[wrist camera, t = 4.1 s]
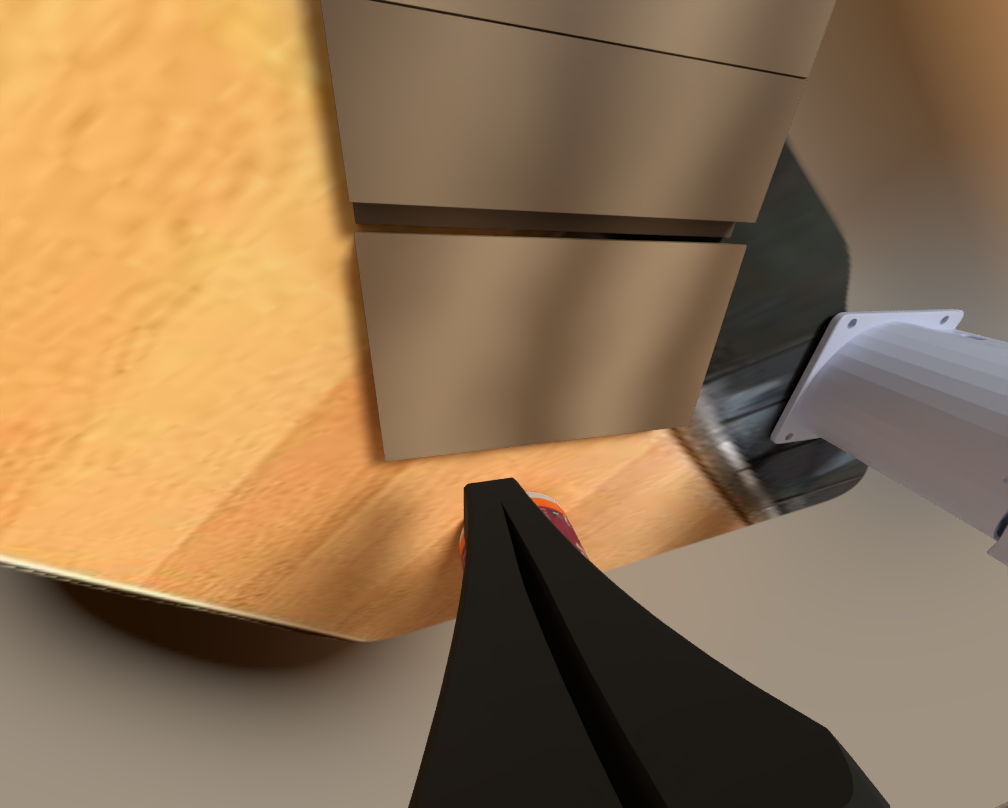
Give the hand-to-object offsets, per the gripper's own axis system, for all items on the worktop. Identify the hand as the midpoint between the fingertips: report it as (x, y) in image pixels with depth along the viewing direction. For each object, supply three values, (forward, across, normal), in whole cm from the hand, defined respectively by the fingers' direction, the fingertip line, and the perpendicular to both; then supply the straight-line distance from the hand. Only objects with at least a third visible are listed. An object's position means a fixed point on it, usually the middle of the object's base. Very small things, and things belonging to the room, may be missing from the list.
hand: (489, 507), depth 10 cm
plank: (+6, -4, -2) cm, 8 cm away
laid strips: (+6, -4, -11) cm, 13 cm away
